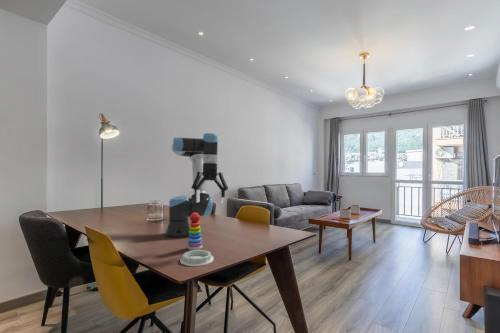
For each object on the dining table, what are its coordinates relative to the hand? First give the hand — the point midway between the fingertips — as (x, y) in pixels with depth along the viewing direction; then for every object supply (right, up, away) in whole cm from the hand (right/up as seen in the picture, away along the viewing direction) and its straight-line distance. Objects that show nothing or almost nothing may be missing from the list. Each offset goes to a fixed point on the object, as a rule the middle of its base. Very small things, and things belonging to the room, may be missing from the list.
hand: (209, 202), depth 140 cm
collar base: (-3, -23, -20) cm, 31 cm away
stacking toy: (-7, -24, -3) cm, 25 cm away
